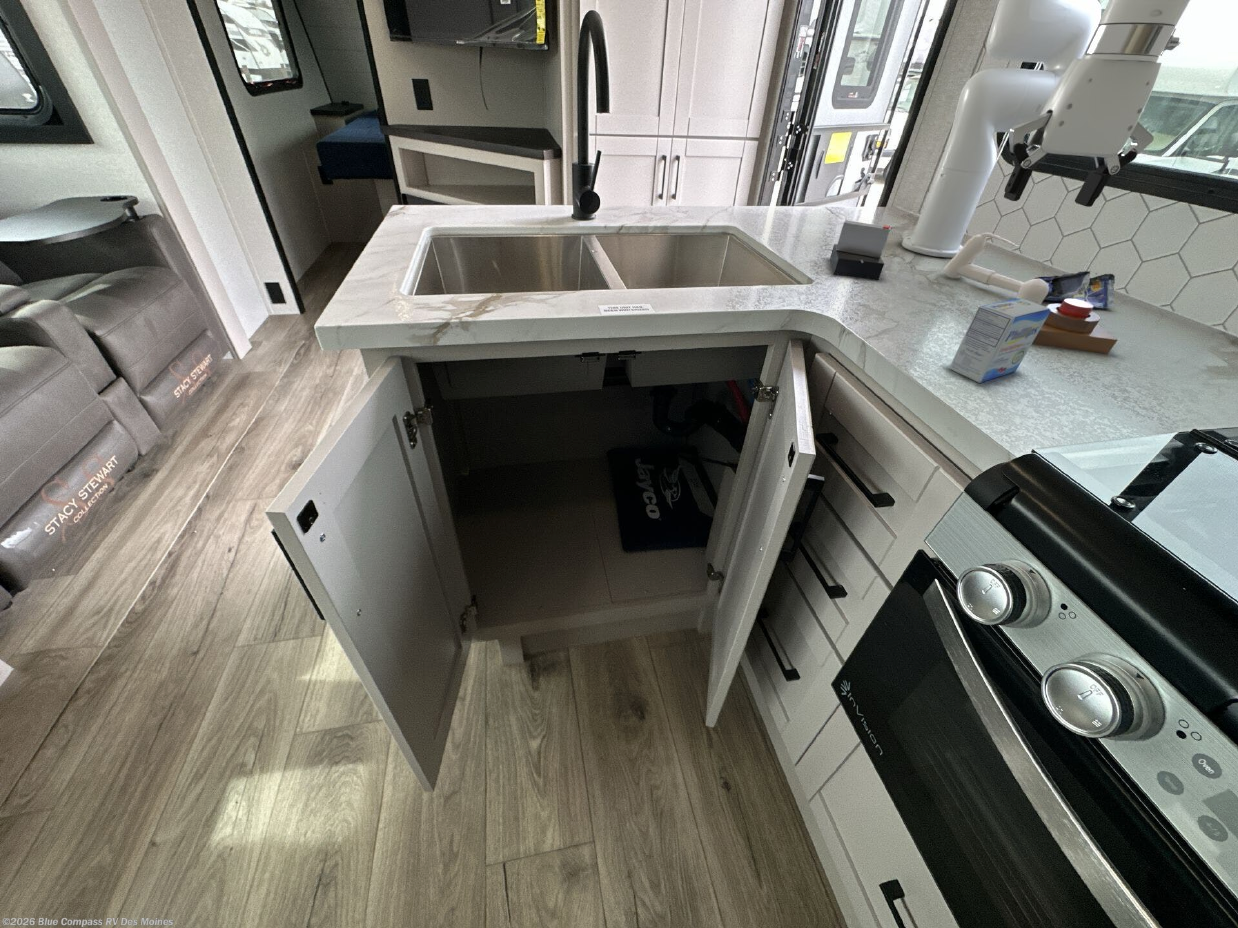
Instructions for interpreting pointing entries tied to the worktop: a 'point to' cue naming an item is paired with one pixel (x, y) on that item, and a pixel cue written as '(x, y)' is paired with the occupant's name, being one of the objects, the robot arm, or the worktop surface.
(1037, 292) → the faucet
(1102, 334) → the button block
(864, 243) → the grey rectangular slab
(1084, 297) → the snack package
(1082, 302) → the button
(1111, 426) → the worktop surface
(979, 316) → the medicine box
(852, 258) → the lever base
